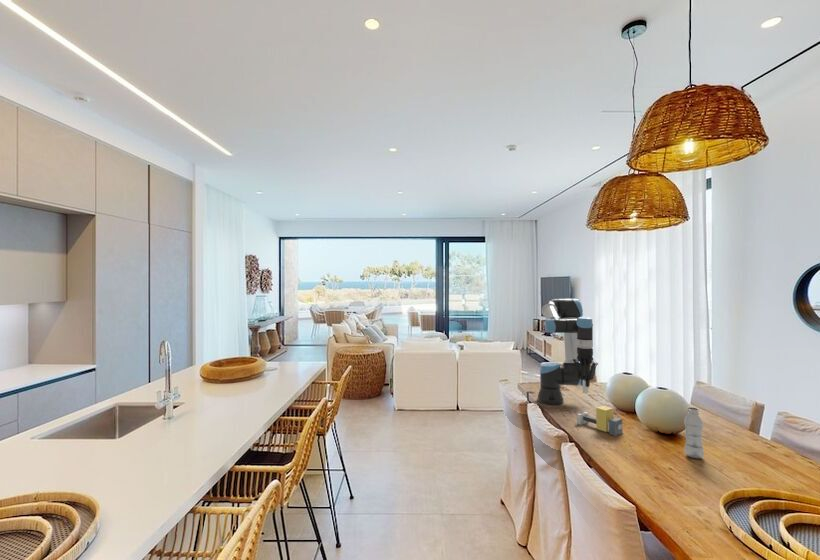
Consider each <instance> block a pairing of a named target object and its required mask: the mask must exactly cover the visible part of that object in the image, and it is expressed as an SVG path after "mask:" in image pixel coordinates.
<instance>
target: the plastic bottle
mask: <svg viewBox="0 0 820 560" xmlns="http://www.w3.org/2000/svg"><path fill="white" fill-rule="evenodd" d="M699 414H700V413H699V408H696V407H687V414H686V415H685V417H684V419H683V422H684V427H685V444H684V453H685V454H686V456H688V457H690V458H691V459H692V458H693V459H702V458H703V457H704V453H705V451H704V447H703V441H702V439H703V438H702V435H703V434H702V433H703V428H704V423H703V422H704V421H703V420H702V418H701V417H700V416H699Z"/></svg>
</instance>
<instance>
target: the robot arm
mask: <svg viewBox="0 0 820 560" xmlns="http://www.w3.org/2000/svg"><path fill="white" fill-rule="evenodd" d="M583 310H584V309H583V306H582V303H581V301H580V300H579V299H578V298H551V299H548V300H547V301H545V302H544V303H543V304H542V305H541V308H540V312H541V314H542V316H543V317H544V318H545V321H544V330H545V332H546V333H551V334H556V333H557V334H558V333H559V334H563V340H564V341H563V342H564V358H565V360H564V361H563V362H562V365H561V364H560V363H559V362H547V363H546V362H545V363H543V364H541V365H540V367H539V368H540V369H539V370H540V371H539V374H540V379H539V381H540V382H539V383H540V384H539V385H540V387H539V392H538V395H537V401H538V402H540V403H541V402H542V403H541V404H544V403H545V405H553V406H554V405H555V406H557V405H562V404H564V400H565V399H564V397H563V393H562V391H561V386H572V387H573V386H575V387H577V386H579V387H580V386H582V393H583V394H588V393H589V388H590V384H591V383H590V381H594V377H595V373H596V369H597V366H598V365H599V363H598V362H597V361H595V360H594V358H593V356H594V348H593V347H594V340H593V338H594V335H593V334H594V333H593V332H594V331H593V330H594V329H593V327H594V324H593V318H592V317H587V316H586V317H585V316H583V315H584V313H583Z"/></svg>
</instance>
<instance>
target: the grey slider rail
mask: <svg viewBox="0 0 820 560" xmlns="http://www.w3.org/2000/svg"><path fill="white" fill-rule="evenodd" d="M588 423H592V424H595V425H597V421H596V417H591V416H590V413H589V412H587V411H582V413H576V424H577V425H581V426H582V425H585V424H588ZM607 433H608V435H610V436H614V437H617V436H619V435H622V434H623V419H622V418H620V417H613V418H612V419H609V422H608V432H607Z"/></svg>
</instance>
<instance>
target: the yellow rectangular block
mask: <svg viewBox="0 0 820 560" xmlns="http://www.w3.org/2000/svg"><path fill="white" fill-rule="evenodd" d="M595 409H596V410H595V412H596V414H595V416H596V417H595V419H596V421H597V424H596V430H599V431H601V432H604V433H609V432H608V422H609V419H612V418H614V408H612V407H609V406H606V405H602V406H598V407H596V408H595Z"/></svg>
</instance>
